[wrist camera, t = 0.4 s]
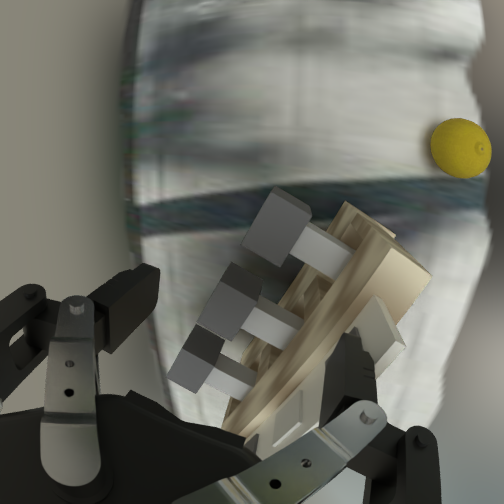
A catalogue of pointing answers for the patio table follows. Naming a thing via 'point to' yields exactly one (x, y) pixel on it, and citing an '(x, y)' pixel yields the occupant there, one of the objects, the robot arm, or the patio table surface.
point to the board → (327, 313)
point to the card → (311, 388)
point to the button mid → (247, 310)
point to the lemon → (460, 148)
